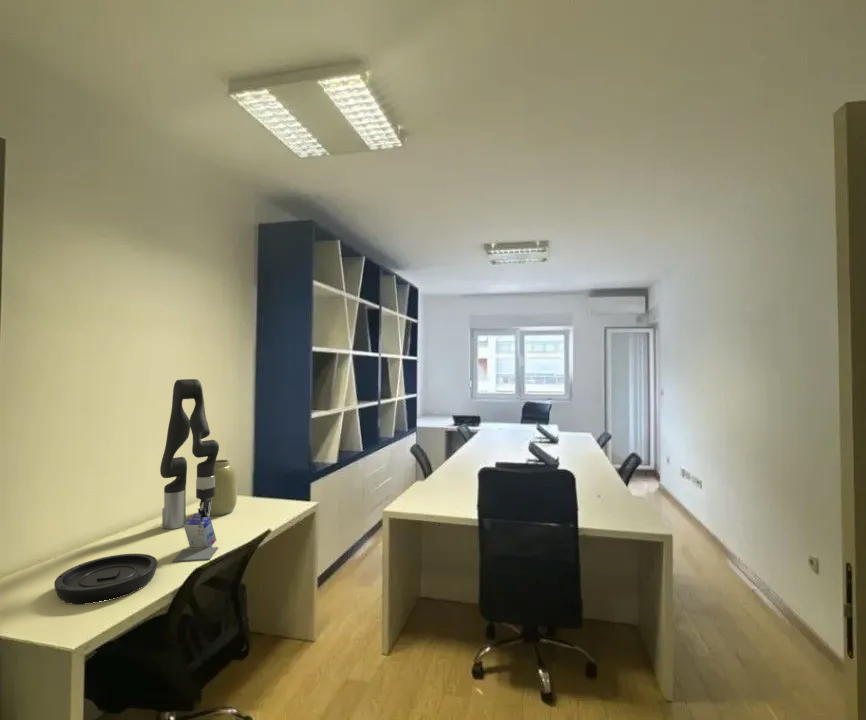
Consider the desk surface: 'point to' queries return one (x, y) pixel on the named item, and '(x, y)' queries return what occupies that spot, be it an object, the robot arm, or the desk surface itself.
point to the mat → (195, 554)
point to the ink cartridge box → (200, 531)
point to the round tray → (105, 578)
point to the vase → (224, 489)
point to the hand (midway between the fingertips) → (205, 525)
